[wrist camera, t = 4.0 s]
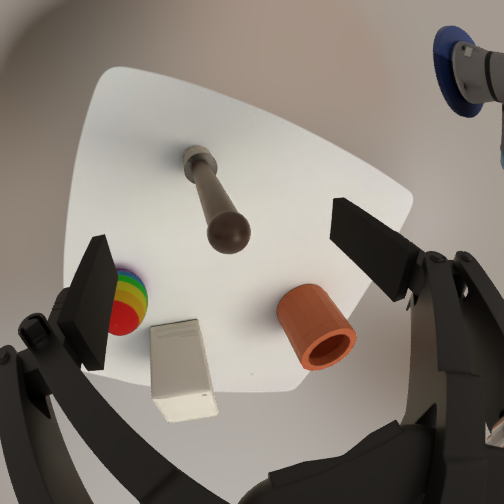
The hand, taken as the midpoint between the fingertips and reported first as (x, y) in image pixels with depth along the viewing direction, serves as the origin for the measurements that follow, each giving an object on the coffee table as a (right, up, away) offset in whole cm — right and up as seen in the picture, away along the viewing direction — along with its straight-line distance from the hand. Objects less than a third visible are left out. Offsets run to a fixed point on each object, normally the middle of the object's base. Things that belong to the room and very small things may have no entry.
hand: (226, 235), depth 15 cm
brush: (-6, +11, +19) cm, 22 cm away
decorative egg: (-19, -6, +25) cm, 31 cm away
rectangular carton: (-12, -17, +33) cm, 39 cm away
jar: (+11, -11, +37) cm, 40 cm away
